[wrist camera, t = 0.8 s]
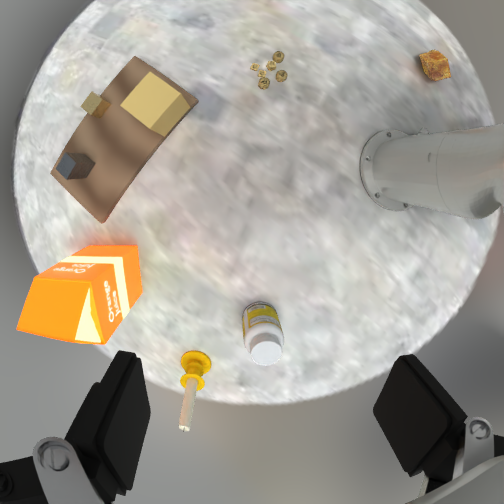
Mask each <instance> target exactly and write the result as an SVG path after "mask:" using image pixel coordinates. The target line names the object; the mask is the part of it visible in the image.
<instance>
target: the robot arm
mask: <svg viewBox="0 0 504 504" xmlns="http://www.w3.org/2000/svg"><path fill="white" fill-rule="evenodd" d="M366 158H367V160H366ZM360 172H361V177H362V181H363V184H364V187H365V189H366V191H367V193H368V194H369V196H370V197H371V198H372V199H373V201H375V202H376V203H377V204H378V205H380V206H381V207H383V208H385V209H388V210H392V211H404V210H407V209H409V208H411V207H413V206H414V205H416V206H420V207H424V208H428V209H432V210H436V211H440V212H444V213H448V214H452V215H455V216H459V217H463V218H467V219H482V218H485V217H487V216H489V215H490V214H492V213H493V212H495V211H496V210H497V209H498V208H499V207H500V206H501V205H502V207H503V211H504V123H501V124H497V125H492V126H487V127H480V128H473V129H464V130H455V131H448V132H440V133H432V134H429V131H428V130H427V129H426V128H422V129H421V130H420V132H419V134H416V135H410V136H409V135H408V134H406V133H404V132H402V131H398V130H385V131H382V132H379V133H377V134H375V135H374V136H373V137H371V139H370V140H369V141H368V142H367V144H366V145H365V147H364V150H363V152H362V155H361V162H360ZM375 194H376V196H375ZM150 413H151V412H150V405H149V401H148V396H147V391H146V385H145V380H144V374H143V368H142V362H141V359H140V358H137V357H136V354H135V353H132V352H126V351H120V350H119V351H118V352H117V354H116V355H115V357H114V359H113V361H112V362H111V364H110V366H109V368H108V369H107V371H106V373H105V375H104V377H103V379H102V380H101V382H100V383H99V382H96V383H94V384H93V386H92V387H91V389H90V391H89V393H88V394H87V396H86V398H85V400H84V402H83V404H82V406H81V407H80V409H79V411H78V413H77V415H76V417H75V419H74V421H73V423H72V425H71V427H70V429H69V431H68V433H67V435H66V437H65V439H62V438H58V437H47V438H44V439H42V440H40V441H39V442H38V443H37V444H36V445H35V447H34V449H33V456H30V457H27V458H22V459H18V460H13V461H9V462H4V463H0V504H114V503H113V501H115V497H116V494H120V495H123V496H125V495H126V490H131V489H132V487H133V482H134V478H135V474H136V470H137V465H138V461H139V457H140V453H141V449H142V446H143V442H144V438H145V434H146V430H147V427H148V423H149V419H150ZM373 413H374V416H375V417H376V419H377V421H378V423H379V425H380V427H381V428H382V430H383V432H384V434H385V436H386V438H387V440H388V441H389V443H390V445H391V447H392V449H393V451H394V453H395V454H396V456H397V458H398V460H399V462H400V464H401V466H402V468H403V469H404V471H405V472H408V474H409V476H410V477H412V476H415V475H417V474H419V473H421V472H422V471H424V473H425V475H424V479H423V482H422V486H421V489H420V492H419V496H418V498H417V499H415V500H412V501H410V502H408V503H406V504H504V437H502V436H498V435H493V428H492V426H491V424H490V423H489V422H488V421H486V420H485V419H483V418H480V417H474V418H471V419H469V420H468V422H467V423H466V424H465V423H464V421H465V419H466V418H467V417H468V416H467V415H466V414H465V412H464V411H463V410H462V409H461V408H460V406H459V405H458V404H457V403H456V402H455V401H454V399H453V398H452V397H451V396H450V395H449V394H448V392H447V391H446V390H445V389H444V388H443V387H442V386H441V384H440V383H439V382H438V381H437V380H436V379H435V377H434V376H433V375H432V374H431V373H430V372H429V371H428V370H427V369H426V367H425V366H424V365H423V364H422V363H421V362H420V361H419V360H418V359H417V357H416V356H415V355H413V354H410V355H403V356H400V357H399V358H398V359H397V360H396V361H395V362H394V365H393V367H392V369H391V372H390V374H389V376H388V378H387V381H386V383H385V385H384V387H383V389H382V391H381V393H380V395H379V397H378V399H377V402H376V403H375V405H374V408H373Z"/></svg>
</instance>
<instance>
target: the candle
mask: <svg viewBox="0 0 504 504" xmlns="http://www.w3.org/2000/svg"><path fill="white" fill-rule="evenodd" d="M181 365H182V367H183V368H184V369H185V372H186V374H185V375H183V376H182V377H181V379H180V382H181V385H182V386H183V387H184V388H186V389H185V394H184V399H183V404H182V410H181V415H180V422H179V428H180V429H182V430H183V431H189V430H190V425H191V420H192V414H193V408H194V402H195V396H196V391H198V390H201V389H202V388H203V387H204V385H205V383H204V380H203V379H202V378H201V376H203V374H205V373H207V372H208V371H209V370H210V368H211V361H210V359H209V357H208V356H207V355H205V354H204V353H202V352H199V351H189V352H187V353H185V354H184V355H183V356H182V359H181Z"/></svg>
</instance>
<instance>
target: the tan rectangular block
mask: <svg viewBox="0 0 504 504" xmlns="http://www.w3.org/2000/svg"><path fill="white" fill-rule="evenodd" d="M120 106H121V107H123V108H124V109H125V110H127V111H128V112H129V113H130V114H132V115H133V116H134V117H135V118H137V119H138V120H139V121H140V122H142V123H143V124H144V125H145V126H147V127H148V128H149V129H151V130H153V131H155V132H157V133H159V134H161V135H162V136H164V137H165V136H166V135H167V133H168V132H169V131H170V130H171V129H172V128H173V126H174V125H175V124H176V123H177V122H178V121H179V120H180V119H181V117H182V116H183V115H184V114H185V113H186V112H187V111H188V110H189V109H190V108H191V107H190V106H189V104H188V103H187V101H186V100H185V99H184V97H183V96H182V94H181V93H179V92H178V91H177V90H175V89H174V88H173V87H171V86H170V85H169V84H167V83H166V82H164V81H163V80H162V79H160V78H159V77H157V76H156V75H154V74H153V73H151V72H149V73H148V74H147V75H146V76H145V77H144V78H143V79H142V80H141V82H140V83H139V84H138V85H137V86H136V87H135V88H134V89H133V91H132V92H131V93H130V94H129V95H128V97H127V98H126V99H125V100H124V101H123V103H122V104H121V105H120Z"/></svg>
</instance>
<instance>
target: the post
mask: <svg viewBox="0 0 504 504" xmlns="http://www.w3.org/2000/svg"><path fill="white" fill-rule="evenodd" d="M95 164H96V163H95V162H94V161H92V160H91V159H90V158H89V157H88V156H87V155H86V154H81V153H68V152H65V153H64V155H63V157H62V158H61V160H60V162H59V164H58V165H57V167H56V170H57V171H58V172H59V173H60V174H61V175H62V176H63V177H64V178H65V179H66V180H70V179H82V178H87V177H88V175H89V174H90V172H91V170H92V169H93V167H94V166H95Z"/></svg>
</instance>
